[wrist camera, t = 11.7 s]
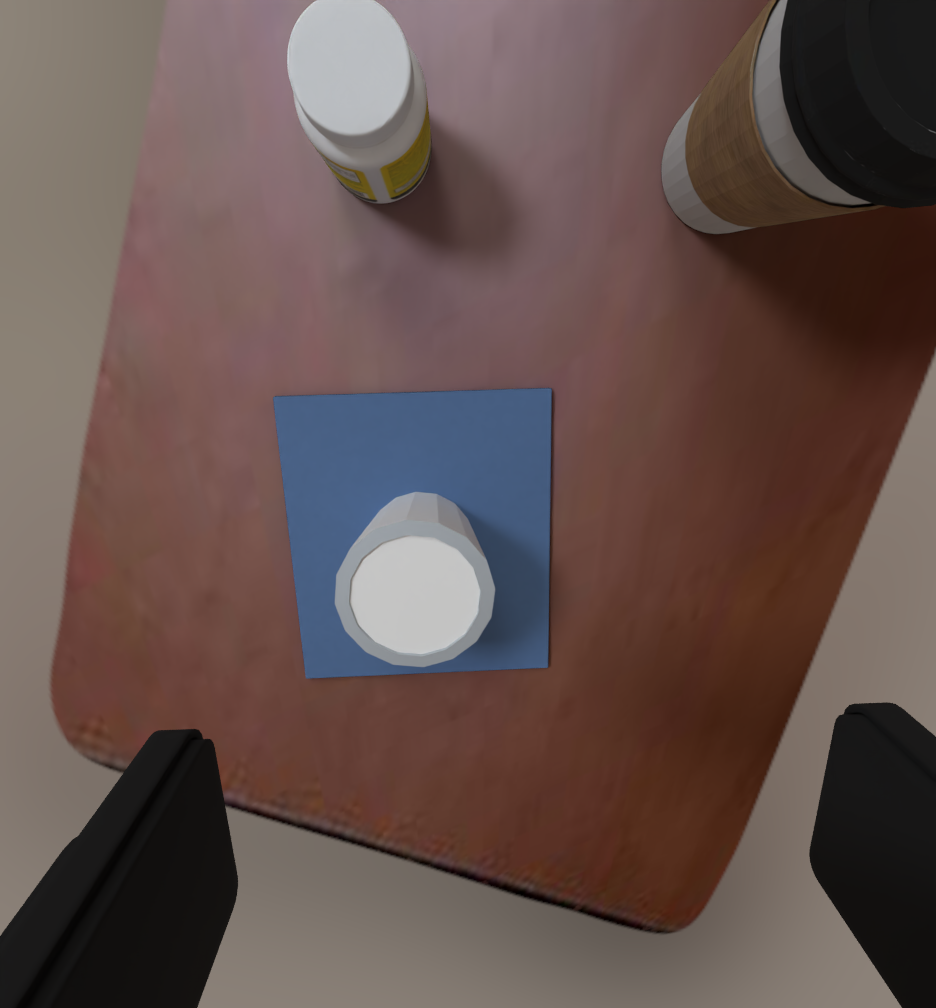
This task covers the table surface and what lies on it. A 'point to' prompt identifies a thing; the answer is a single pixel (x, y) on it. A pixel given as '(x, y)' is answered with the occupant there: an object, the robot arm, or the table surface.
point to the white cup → (415, 583)
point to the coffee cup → (811, 118)
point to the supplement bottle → (361, 97)
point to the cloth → (429, 469)
